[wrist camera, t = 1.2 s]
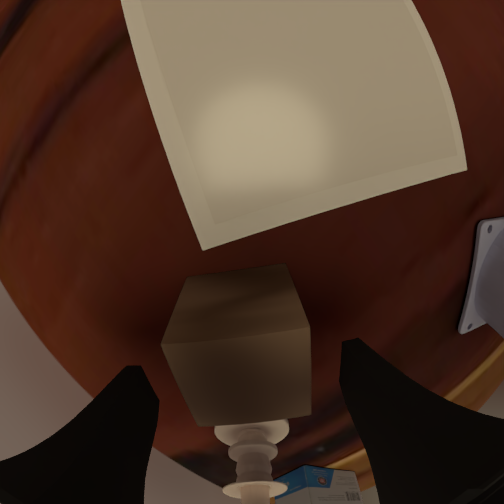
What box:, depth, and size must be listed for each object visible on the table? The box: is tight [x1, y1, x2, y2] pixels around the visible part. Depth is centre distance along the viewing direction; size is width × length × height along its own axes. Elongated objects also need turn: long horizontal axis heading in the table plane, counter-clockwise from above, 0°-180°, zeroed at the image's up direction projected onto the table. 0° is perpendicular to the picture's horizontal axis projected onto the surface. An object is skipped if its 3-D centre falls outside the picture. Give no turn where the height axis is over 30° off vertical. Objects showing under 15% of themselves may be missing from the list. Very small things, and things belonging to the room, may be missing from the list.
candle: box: [215, 419, 289, 504], centre depth 12 cm, size 5×5×10 cm
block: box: [160, 263, 311, 426], centre depth 11 cm, size 4×4×5 cm
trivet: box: [121, 0, 467, 250], centre depth 8 cm, size 12×12×2 cm
